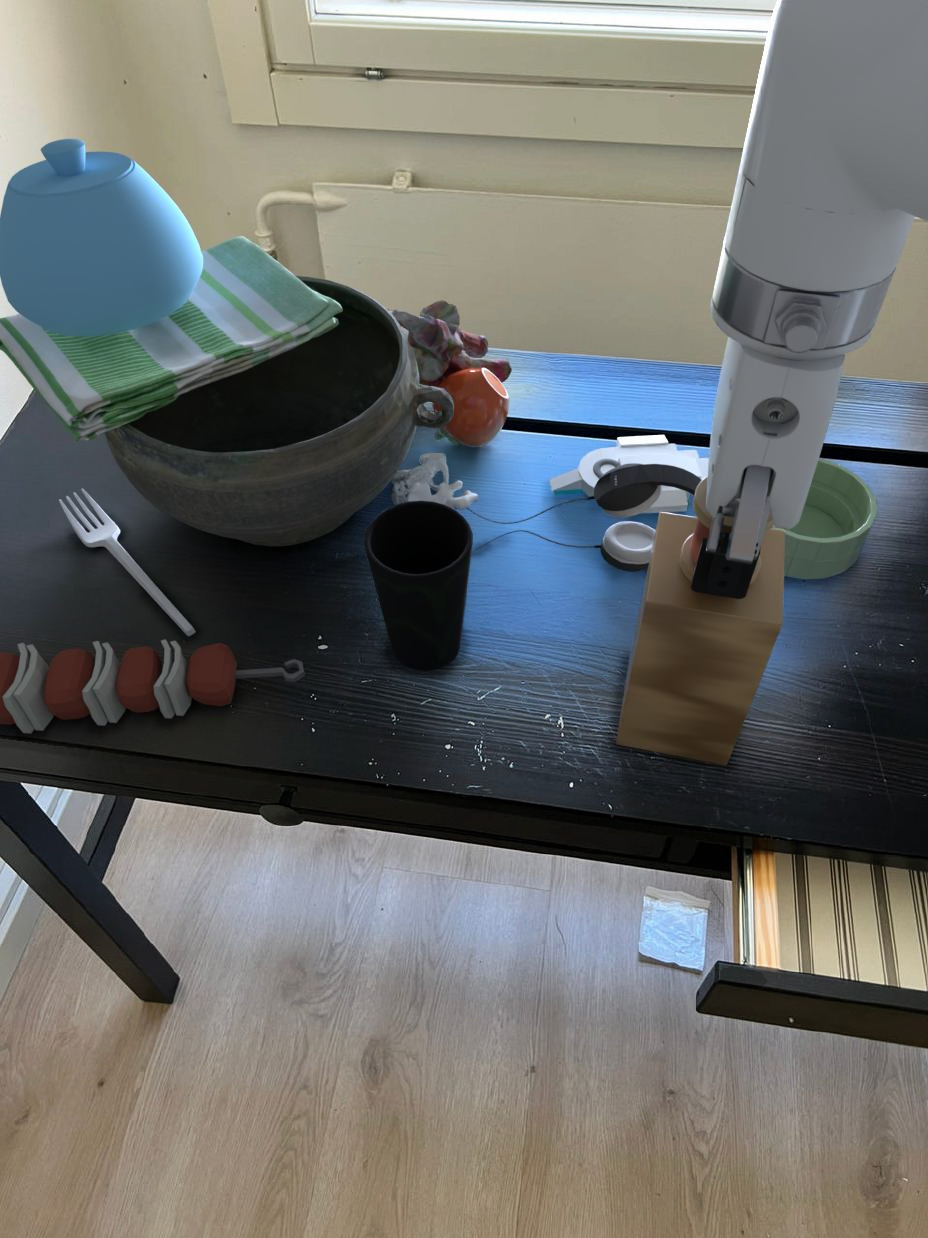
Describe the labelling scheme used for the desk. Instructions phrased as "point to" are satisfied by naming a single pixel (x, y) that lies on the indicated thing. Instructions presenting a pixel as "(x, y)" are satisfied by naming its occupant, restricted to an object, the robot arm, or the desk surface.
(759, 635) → the stand
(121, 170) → the sugar bowl
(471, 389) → the orange round pot
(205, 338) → the dish towel
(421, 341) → the figurine
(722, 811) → the desk surface
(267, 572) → the desk surface
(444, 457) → the pelvis model
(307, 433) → the bowl
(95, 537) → the fork
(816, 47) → the robot arm
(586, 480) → the toy rocket
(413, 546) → the cup
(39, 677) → the skewer
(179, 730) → the desk surface
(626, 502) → the headphones
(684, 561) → the spool
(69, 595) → the desk surface
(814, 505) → the green bowl
